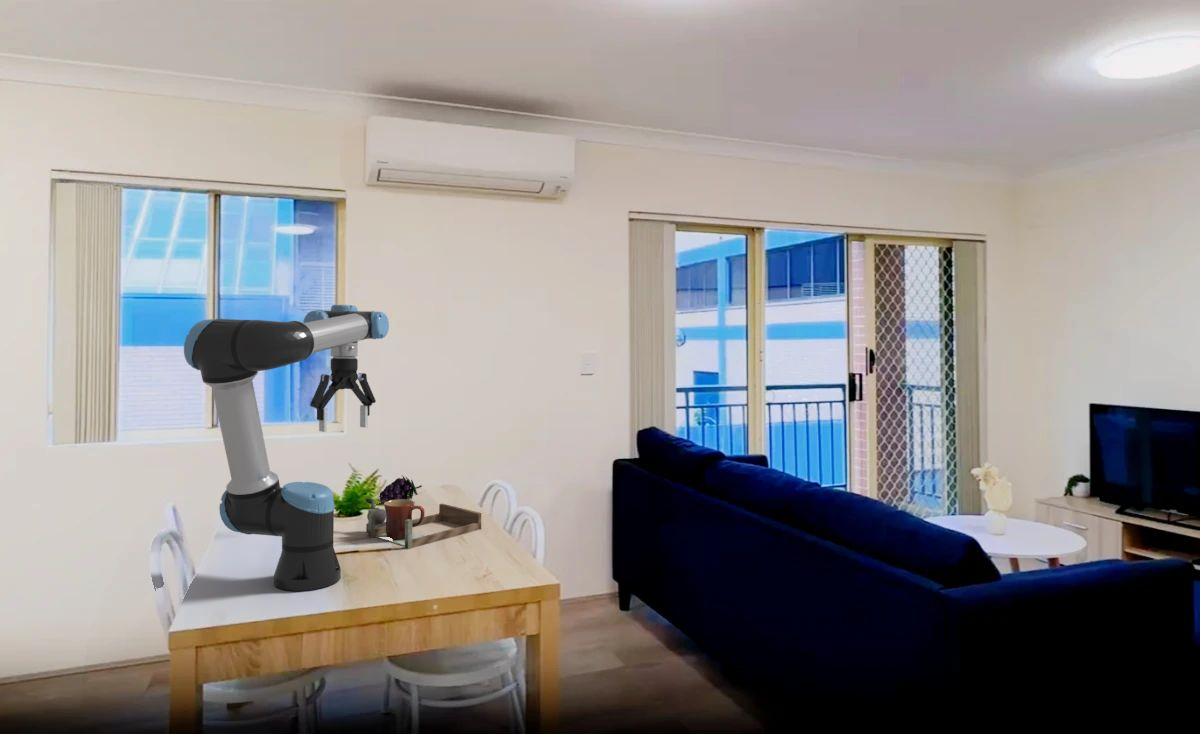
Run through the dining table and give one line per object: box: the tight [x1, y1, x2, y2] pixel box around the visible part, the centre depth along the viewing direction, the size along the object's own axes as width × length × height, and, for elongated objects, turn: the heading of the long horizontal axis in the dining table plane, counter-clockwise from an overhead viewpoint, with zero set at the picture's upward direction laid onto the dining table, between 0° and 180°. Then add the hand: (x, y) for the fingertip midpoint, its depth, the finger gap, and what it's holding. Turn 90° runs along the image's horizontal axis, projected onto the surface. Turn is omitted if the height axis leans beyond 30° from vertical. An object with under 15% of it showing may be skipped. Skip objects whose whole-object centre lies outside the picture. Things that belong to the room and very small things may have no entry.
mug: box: [383, 499, 426, 540], centre depth 214 cm, size 12×9×10 cm
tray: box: [365, 497, 482, 550], centre depth 222 cm, size 28×25×10 cm
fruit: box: [378, 475, 423, 502], centre depth 257 cm, size 10×11×15 cm
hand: (343, 429), depth 215 cm, fingers open, 13 cm apart
